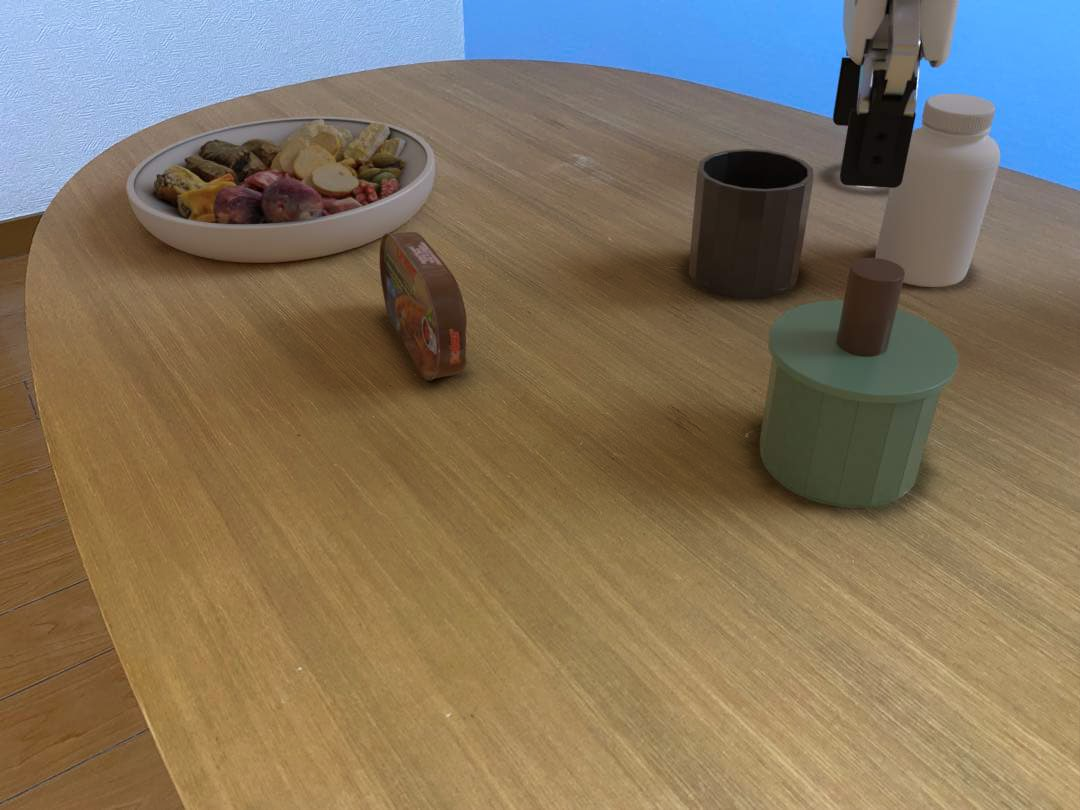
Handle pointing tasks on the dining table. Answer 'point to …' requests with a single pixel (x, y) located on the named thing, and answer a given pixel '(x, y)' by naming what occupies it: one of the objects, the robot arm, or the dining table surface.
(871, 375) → the lid
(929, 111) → the pill bottle
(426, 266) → the tin
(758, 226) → the cup
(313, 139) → the bowl
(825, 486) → the can
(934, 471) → the dining table surface
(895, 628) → the dining table surface
